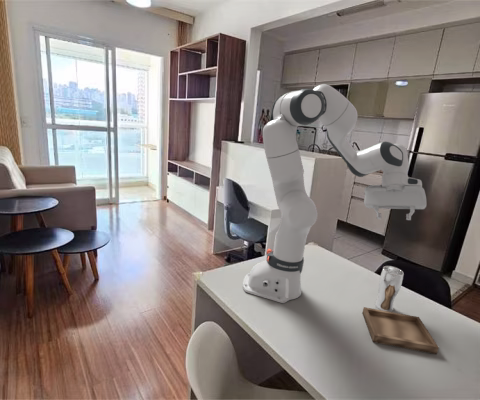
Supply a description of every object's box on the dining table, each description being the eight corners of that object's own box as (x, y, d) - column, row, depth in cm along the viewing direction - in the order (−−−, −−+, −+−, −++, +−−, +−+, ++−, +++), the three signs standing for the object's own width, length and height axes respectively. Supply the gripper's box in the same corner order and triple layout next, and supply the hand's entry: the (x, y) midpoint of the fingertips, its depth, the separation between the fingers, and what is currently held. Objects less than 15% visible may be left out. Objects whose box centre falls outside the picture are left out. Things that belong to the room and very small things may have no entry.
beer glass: (396, 314, 103) (407, 277, 99) (375, 310, 104) (385, 273, 100) (390, 303, 109) (400, 267, 105) (371, 299, 111) (380, 264, 107)
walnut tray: (372, 342, 88) (374, 335, 88) (362, 313, 102) (363, 307, 101) (436, 354, 86) (438, 347, 85) (416, 323, 99) (418, 317, 99)
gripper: (363, 181, 112) (361, 214, 108) (426, 180, 102) (427, 216, 97) (365, 188, 117) (363, 220, 113) (425, 188, 107) (426, 223, 102)
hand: (393, 219), depth 105 cm, fingers open, 8 cm apart
